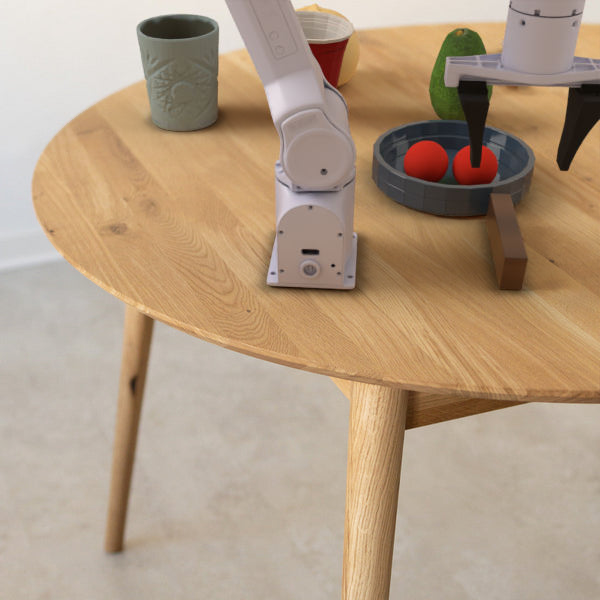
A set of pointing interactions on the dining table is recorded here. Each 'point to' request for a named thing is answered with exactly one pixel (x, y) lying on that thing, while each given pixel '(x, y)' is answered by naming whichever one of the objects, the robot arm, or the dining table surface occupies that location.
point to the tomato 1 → (426, 161)
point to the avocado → (440, 95)
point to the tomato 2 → (474, 175)
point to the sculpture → (351, 49)
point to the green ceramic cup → (181, 69)
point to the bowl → (450, 168)
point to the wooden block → (506, 242)
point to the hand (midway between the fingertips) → (518, 164)
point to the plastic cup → (326, 40)
